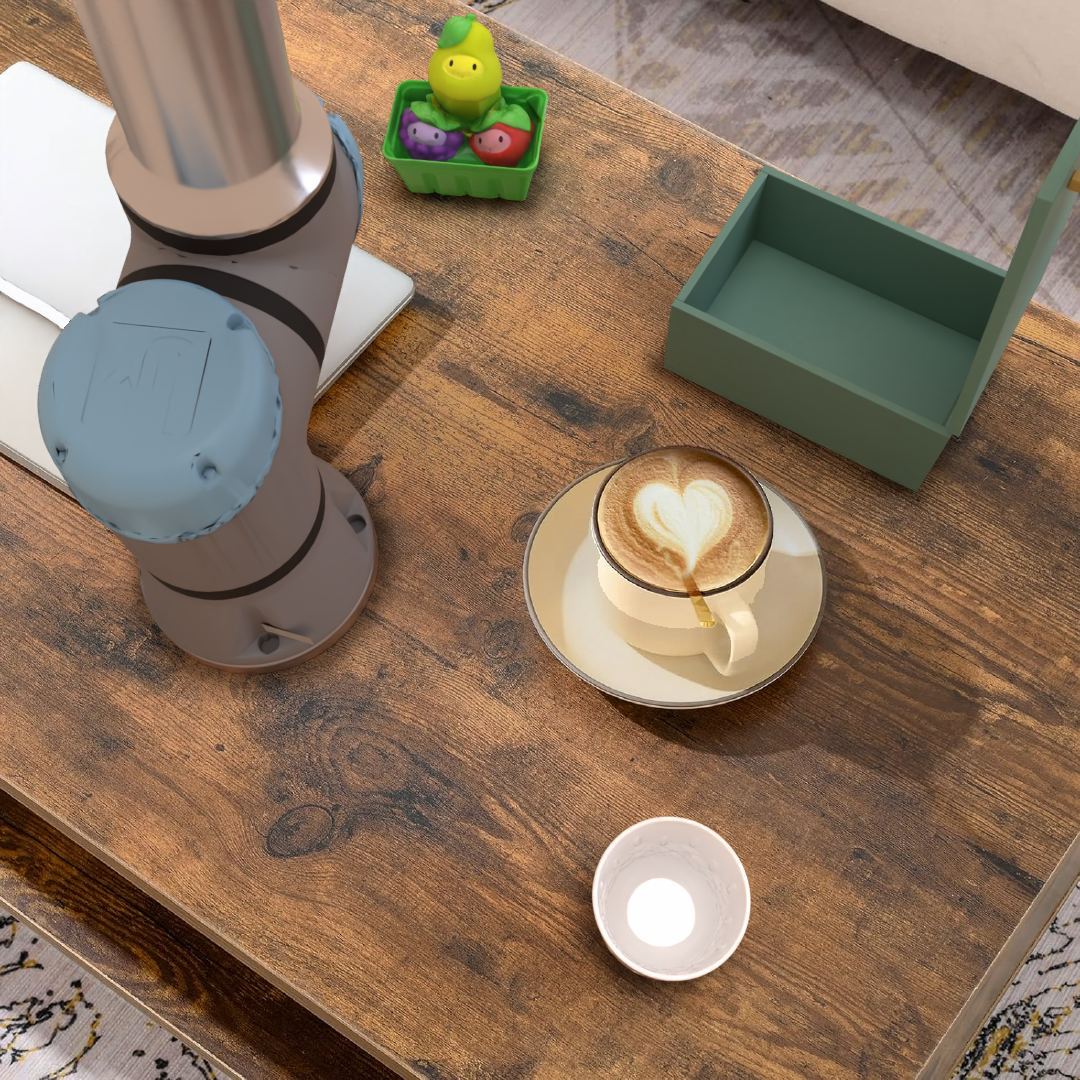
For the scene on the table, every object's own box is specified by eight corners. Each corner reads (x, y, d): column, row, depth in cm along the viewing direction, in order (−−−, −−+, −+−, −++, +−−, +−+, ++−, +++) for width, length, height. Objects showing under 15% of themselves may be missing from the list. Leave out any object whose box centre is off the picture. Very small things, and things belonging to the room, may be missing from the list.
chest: (662, 367, 81) (670, 304, 74) (749, 235, 86) (764, 164, 79) (916, 492, 77) (949, 438, 70) (993, 346, 81) (1032, 281, 74)
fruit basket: (390, 205, 88) (364, 93, 77) (409, 115, 91) (388, -4, 81) (538, 217, 87) (533, 106, 77) (553, 126, 90) (550, 8, 80)
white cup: (562, 902, 67) (560, 881, 58) (667, 818, 69) (680, 785, 60) (649, 1018, 65) (661, 1015, 56) (755, 928, 67) (783, 911, 57)
